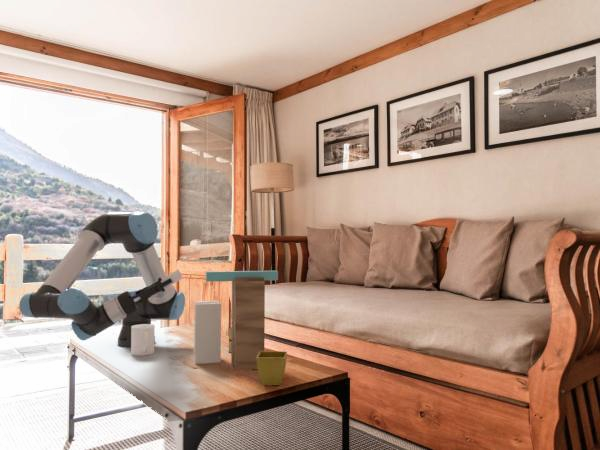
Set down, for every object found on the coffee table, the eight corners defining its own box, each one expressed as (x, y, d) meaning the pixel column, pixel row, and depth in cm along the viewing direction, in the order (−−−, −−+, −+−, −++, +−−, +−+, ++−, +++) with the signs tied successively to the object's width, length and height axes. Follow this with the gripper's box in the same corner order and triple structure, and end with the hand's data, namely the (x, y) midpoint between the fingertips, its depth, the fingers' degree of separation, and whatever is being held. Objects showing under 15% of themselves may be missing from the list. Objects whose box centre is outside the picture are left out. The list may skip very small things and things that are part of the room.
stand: (231, 363, 167) (232, 276, 168) (258, 361, 170) (259, 275, 171) (235, 371, 157) (235, 278, 159) (264, 369, 160) (264, 277, 161)
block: (205, 280, 162) (206, 271, 163) (276, 279, 169) (276, 270, 169) (206, 281, 159) (206, 272, 160) (278, 280, 166) (278, 271, 166)
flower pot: (259, 379, 148) (259, 350, 148) (286, 379, 148) (287, 351, 148) (255, 388, 139) (256, 357, 140) (285, 388, 139) (285, 357, 139)
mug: (134, 359, 174) (135, 330, 174) (129, 352, 184) (129, 325, 184) (158, 356, 178) (158, 328, 178) (151, 350, 188) (151, 323, 189)
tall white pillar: (194, 358, 174) (194, 301, 175) (218, 357, 177) (218, 300, 178) (195, 364, 167) (195, 304, 167) (220, 362, 169) (221, 303, 170)
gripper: (130, 311, 165) (185, 280, 171) (123, 322, 141) (187, 285, 147) (120, 293, 165) (174, 263, 170) (111, 300, 141) (175, 265, 146)
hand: (180, 273), depth 158 cm, fingers open, 13 cm apart
